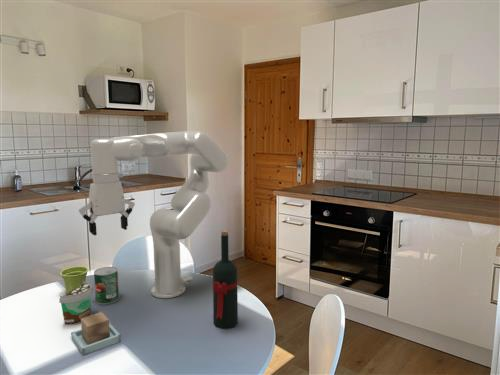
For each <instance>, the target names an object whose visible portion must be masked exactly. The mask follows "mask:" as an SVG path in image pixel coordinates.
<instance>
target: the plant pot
mask: <svg viewBox="0 0 500 375" xmlns="http://www.w3.org/2000/svg"><path fill="white" fill-rule="evenodd" d="M88 272H89V268H88V267H86V266H82V265H81V266H79V265H78V266H71V267H67V268H64V269H63V270H61V271H60V275H61V278H62V279H63V282H64V283H63V284H64V287H65V291H66V295H67V294H68V293H69V292H70V291H72V290H73V289H75V288H78V287H79V286H81V285H82V284H83V281H84V282H87V275H88Z"/></svg>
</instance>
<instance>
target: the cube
mask: <svg viewBox="0 0 500 375" xmlns="http://www.w3.org/2000/svg"><path fill="white" fill-rule="evenodd" d="M109 323H110V319H109V318H108V317H107V316H106V315H105V314H104V313H103V312H102V311H99V312H97V313H94V314H92V315H91V314H90V316H87V317H84V318H81V322H80V326H81V328H80V330H82V338H83V339H84V341H85V342H86V343H87V345H90V344H92V343H95V342H98V341H101V340H104V339H106V338H109V337H110V329H109Z"/></svg>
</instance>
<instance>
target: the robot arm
mask: <svg viewBox="0 0 500 375" xmlns="http://www.w3.org/2000/svg"><path fill="white" fill-rule="evenodd" d="M90 154H91V155H90V156H91V168H92V182H93V183H90V184H89V194H88V202H87V204H85V205H84V206H82V207H80V208H79V209H78V213H79V214H80V215H81V217H82V218H83V219H84V220H85V221H87V222H88V228H89V233H91V234H92V235H93V236H97V234H98V232H97V224H96V223H97V222H95V221H96V220H97V218H98V217H101V216H109V215H116V214H120V215H121V216H120V228H121V229H122V230H124V231H127V230H128V226H129V224H128V222H129V220H128V218H129V216H130V214H131V213H132V212H133V209H134V207H135V202H133V201H130V200H128V199H125V194H124V189H123V185H122V182H121V181H120V179H122V178H124V175H123V173H120V172H119V161H120V162H121V161H122V162H123V161H124V162H135V161H137V160H139V159H140V158H141V157H145V158H146V157H147V158H148V157H149V158H167V157H174V156H181V155H190V159H189V165H190V175H189V177H188V178H187V179H186V181H185V182H184V183H183V184H182V185H181V186H180V188H179V189H178V190H177V191H176V192H175V193H174V194H173V196H172V198H171V200H170V207H171V208H172V209H169V208H158V209H156V210H155V211H154V212H153V213H152V214H151V215H150V218H149V228H150V231H151V232H150V233H151V237H152V243H153V246H152V247H153V263H154V264H153V266H154V286H153V287H151V290H150V294H151V295H152V296H153V297H155V298H159V299H171V298H177V297H178V296H180V295H183V294H184V293H185V292H186V286H185V284H186V283H191V282H192V281H193V276H191V275H190V276H187V275H183V276H182V274H181V273H182V272H181V271H182V270H181V245H180V240H185V239H187V238H189V237H190V236H191V235H193V233H194V232H195V230H196V229H197V228H198V227H199V225H201V223H202V222H203V221H204V219H205V218H206V216H208V213H209V212H210V209H211V205H212V204H211V198H210V196H209V195H208V193H206V192H207V190H208V188H209V186H210V182H209V173H222V172H223V171H225V170H226V169H227V167H228V166H229V158H228V155H227V154H226V152H225V150H224V149H223V148H221V146H220V145H219V144H218V143H217V142H216V141H215V140H214V138H212V137H211V136H210V135H209V134H207V133H206V132H204V131H199V130H195V131H193V130H183V131H172V132H158V133H157V132H156V133H149V134H147V133H146V134H139V135H137V134H136V135H126V136H124V135H123V136H115V137H111V138H96V139H92V140H91V141H90ZM126 205H128V206H127V208H126ZM87 211H89V213H90V215H88V214H87V213H86V212H87ZM186 276H187V277H186Z"/></svg>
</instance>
